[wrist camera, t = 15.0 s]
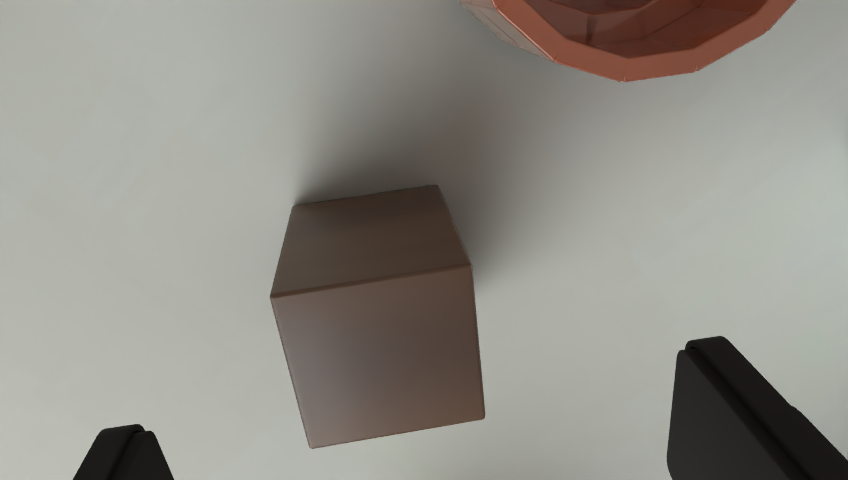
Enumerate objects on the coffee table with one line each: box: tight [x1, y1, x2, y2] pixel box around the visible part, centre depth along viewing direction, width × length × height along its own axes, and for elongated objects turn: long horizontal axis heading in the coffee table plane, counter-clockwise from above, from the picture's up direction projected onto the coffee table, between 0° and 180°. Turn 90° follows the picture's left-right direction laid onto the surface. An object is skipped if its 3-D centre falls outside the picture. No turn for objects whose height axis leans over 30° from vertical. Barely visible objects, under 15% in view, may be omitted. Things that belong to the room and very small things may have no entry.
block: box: [270, 185, 485, 449], centre depth 16 cm, size 4×4×6 cm
